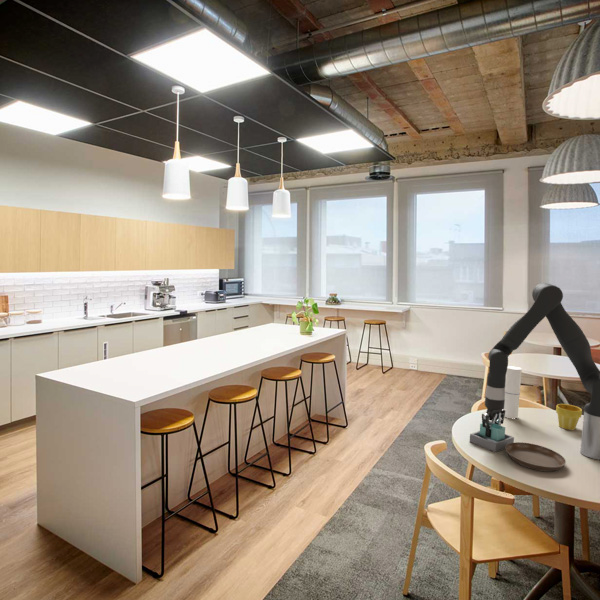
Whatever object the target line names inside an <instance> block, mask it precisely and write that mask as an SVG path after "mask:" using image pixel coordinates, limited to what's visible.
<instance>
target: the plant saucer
mask: <svg viewBox="0 0 600 600" xmlns="http://www.w3.org/2000/svg"><path fill="white" fill-rule="evenodd" d="M504 450H505V451H506V453H507V454H508V456H509V458H511V459H512V460H513V461H514V462H515V463H517V464H518V465H520V466H522V467H525V468H528V469H531V470H535V471H541V472H555V471H557V470H559V469H561V468H563V467H564V466H565V465H566V463H567V461H566V458H565V457H564V456H563V455H562V454H560V453H559V452H557V451H555V450H553V449H551V448H548V447H545V446H543V445H540V444H534V443H530V442H523V441H522V442H519V441H517V442H516V441H515V442H514V443H510V444H507V445H506V447H505V449H504Z"/></svg>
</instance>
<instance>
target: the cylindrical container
mask: <svg viewBox="0 0 600 600" xmlns="http://www.w3.org/2000/svg"><path fill="white" fill-rule="evenodd" d="M522 370H523V368H522V367H519V366H513V365H508V367H507V372H506V383H505V404H504V409H503V410H505V416H504V418H505V417H507V418H506V419H508V418H513V419H512V420H515V419H514V418H517V419H518V418H519V406H520V397H521V396H520V395H521V385H522V384H521V382H522V381H521V380H522V372H523V371H522Z"/></svg>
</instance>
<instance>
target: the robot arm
mask: <svg viewBox="0 0 600 600" xmlns="http://www.w3.org/2000/svg"><path fill="white" fill-rule="evenodd" d="M531 296H532V300H533V304H532V305H531V307H529V309H528V310H527V311H526V313H525V314H524V315H522V316H521V317H520V318H518V320H517V321H515V322H514V323H513V324H512V325H511V326H510V327H509V329H508V330H507V331H506V333H504V334H503V336H502V338H501V339H499V341H498V342H497V343H496V344H495V345H494V346H493V347H492V348H491V349H490V351H489V353H488V357H487V358H488V361H489V369H488V374H487V377H486V379H487V380H486V387H485V396H484V407H486V412H485V413H482V414H481V423H482V427H485V428H486V432H485V436H486V437H488V438H490V437H491V429H492V425H493V424H497V425H500V426H502V425H503V424H504V422H505V421H504V420H505V417H504V416H505V410H503V409H504V404H505V383H506V372H507V367H508V366H509V356H510V355H512V353H513V351H515V350H517V349H519V348H520V346H521V345H522V344H523V342H525V340H526V338H527V337H528V336H529V335H530V334H531V333H532V331H534V329H535V328H536V327H537V326H538V324H540V323H541V322H542V321H543V320H544V319H545V318H546V320H547V321H548V323H549V326H550V327H551V330H552V331H553V333H554V335H555V337H556V339H557V341H558V343H559V344H560V347H561V348H562V350H564V352H565V354H566V356H567V358H568V359H569V361H570V362H571V363H572V365H573V366H574V368H575V370H576V372H577V375H578V377H579V380H580V381H581V384H582V386H583V388H584V389H585V391H586V392H588V393H589V394H590V395H591V396H590V402H588V403H586V404H585V405H584V407H583V408H584V409H583V410H584V411H583V421H582V427H581V428H582V430H581V441H580V450H579V451H580V454H582V455H583V456H585V457H588V458H591V459H593V460H598V461H599V460H600V369H599V368H598V366H597V364H596V363H595V361H594V360H593V356H592V349H591V345H590V342H589V340H588V338H587V337H586V335H585V333H584V332H583V329H582V328H581V327H580V326H579V325H578V324H577V322H576V321H575V319H573V318H572V316H570V314H569V313H568V312H567V311H566V309H565V308H564V306H563V303H562V302H563V298H564V293H563V290H561V288H560V287H559V286H556V285H553V284H551V283H546V282H545V283H544V282H543V283H538V284H537V285H536V286H534V288H533V289H532V293H531ZM489 423H490V426H489Z"/></svg>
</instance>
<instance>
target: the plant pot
mask: <svg viewBox="0 0 600 600" xmlns="http://www.w3.org/2000/svg"><path fill="white" fill-rule="evenodd" d="M555 408H556V409H555V413H556V414H557V421H558V426H559V427H560V428H562V429H564V430H568V429H569V430H568V431H574V430H576V428H577V425H578V422H579V420H580V418H582V416H583V415H582V414H583V409H582V408H580V407H579V406H577V405H572V404H567V403H558V404H556V407H555Z"/></svg>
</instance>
